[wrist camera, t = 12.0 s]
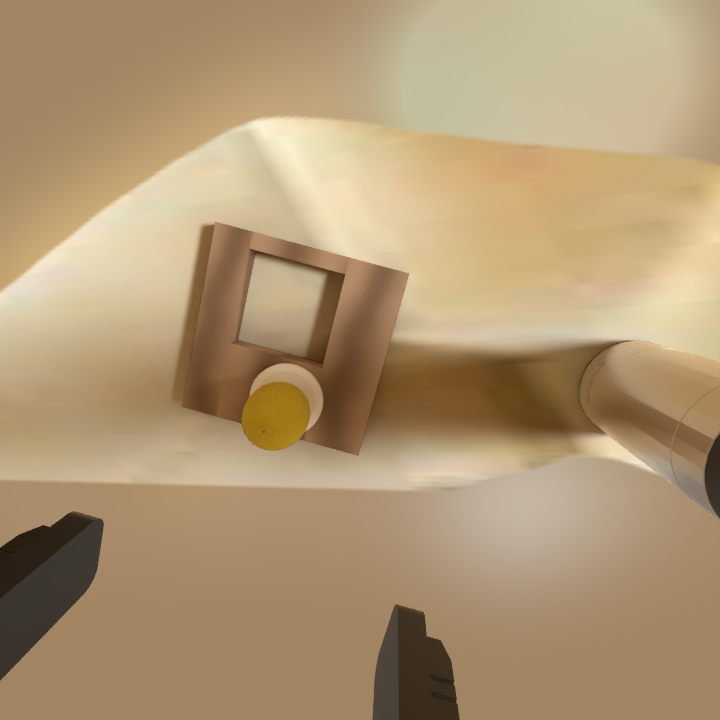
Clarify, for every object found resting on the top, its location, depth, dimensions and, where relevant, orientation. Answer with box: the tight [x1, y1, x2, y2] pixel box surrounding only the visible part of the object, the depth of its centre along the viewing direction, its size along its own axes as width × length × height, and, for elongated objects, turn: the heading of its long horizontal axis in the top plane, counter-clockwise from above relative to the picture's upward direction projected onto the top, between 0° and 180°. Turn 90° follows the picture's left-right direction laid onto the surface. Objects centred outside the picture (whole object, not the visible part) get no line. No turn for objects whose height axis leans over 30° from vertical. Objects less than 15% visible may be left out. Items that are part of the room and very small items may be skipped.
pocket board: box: [182, 222, 409, 455], centre depth 42 cm, size 18×18×2 cm
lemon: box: [242, 382, 310, 451], centre depth 37 cm, size 6×6×8 cm
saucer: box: [250, 363, 324, 431], centre depth 42 cm, size 7×7×1 cm
